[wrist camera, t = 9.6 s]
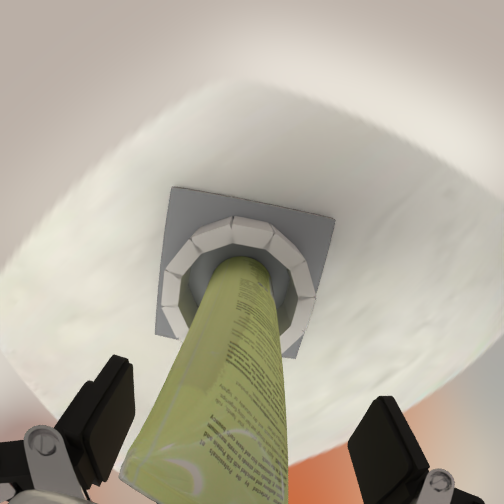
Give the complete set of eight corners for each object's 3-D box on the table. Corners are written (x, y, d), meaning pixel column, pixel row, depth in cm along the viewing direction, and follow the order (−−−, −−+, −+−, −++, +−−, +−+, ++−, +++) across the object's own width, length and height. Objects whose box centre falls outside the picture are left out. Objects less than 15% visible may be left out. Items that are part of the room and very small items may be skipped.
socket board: (332, 218, 23) (353, 228, 18) (294, 352, 26) (302, 386, 21) (174, 186, 22) (156, 189, 17) (157, 329, 25) (141, 359, 20)
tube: (195, 299, 24) (117, 533, 5) (213, 242, 22) (115, 480, 3) (260, 320, 24) (285, 559, 5) (282, 265, 23) (375, 508, 4)
